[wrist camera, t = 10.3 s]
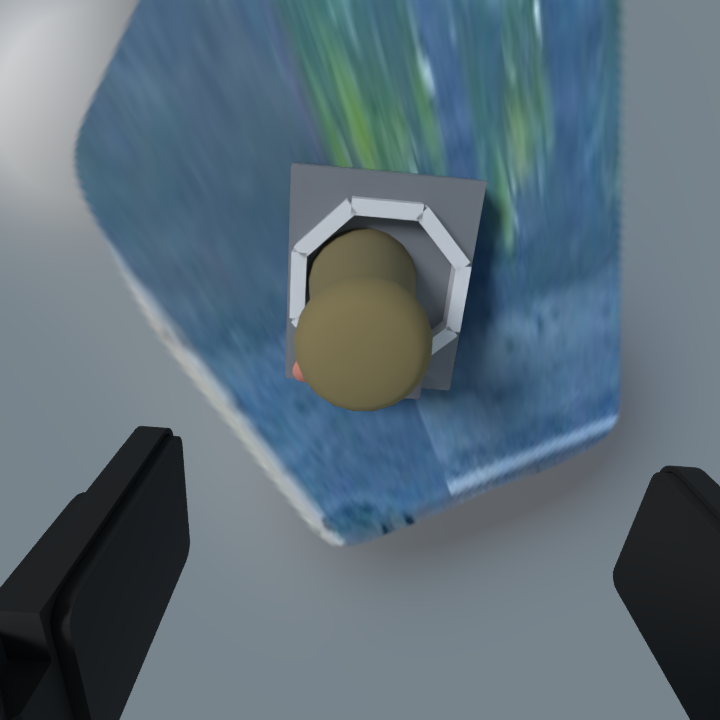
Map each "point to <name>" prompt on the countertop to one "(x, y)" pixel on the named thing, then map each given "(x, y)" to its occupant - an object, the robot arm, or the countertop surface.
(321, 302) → the cork
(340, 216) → the octagon ring plate
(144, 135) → the countertop surface
